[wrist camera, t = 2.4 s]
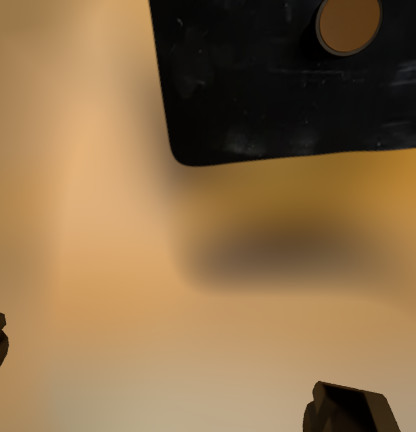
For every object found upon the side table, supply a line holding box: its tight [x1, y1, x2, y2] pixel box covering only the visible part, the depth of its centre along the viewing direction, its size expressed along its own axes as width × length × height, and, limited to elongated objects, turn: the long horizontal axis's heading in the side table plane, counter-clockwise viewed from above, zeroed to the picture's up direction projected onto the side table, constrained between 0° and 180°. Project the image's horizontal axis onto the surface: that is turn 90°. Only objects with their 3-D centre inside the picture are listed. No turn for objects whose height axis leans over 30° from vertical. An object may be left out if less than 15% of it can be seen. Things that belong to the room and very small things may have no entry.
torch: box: [299, 0, 383, 62], centre depth 28 cm, size 5×5×12 cm
